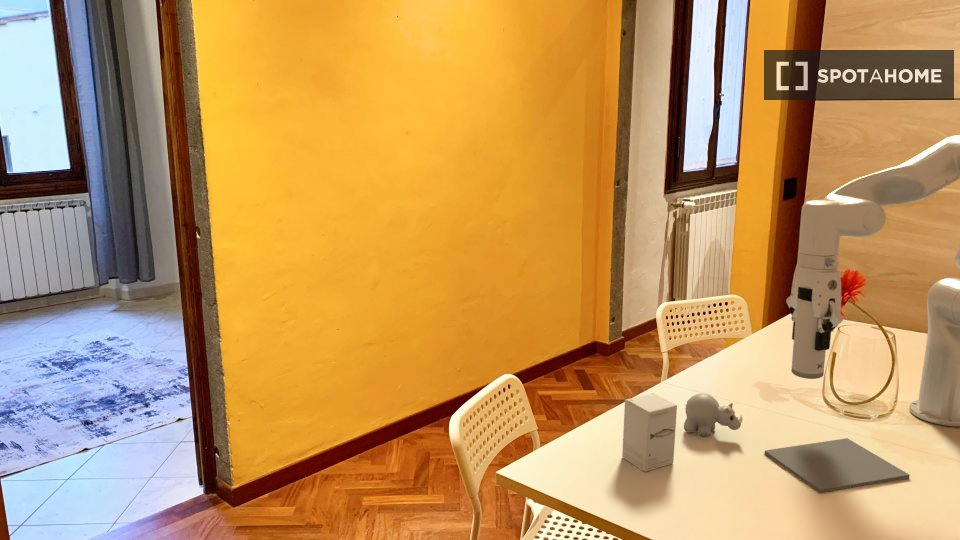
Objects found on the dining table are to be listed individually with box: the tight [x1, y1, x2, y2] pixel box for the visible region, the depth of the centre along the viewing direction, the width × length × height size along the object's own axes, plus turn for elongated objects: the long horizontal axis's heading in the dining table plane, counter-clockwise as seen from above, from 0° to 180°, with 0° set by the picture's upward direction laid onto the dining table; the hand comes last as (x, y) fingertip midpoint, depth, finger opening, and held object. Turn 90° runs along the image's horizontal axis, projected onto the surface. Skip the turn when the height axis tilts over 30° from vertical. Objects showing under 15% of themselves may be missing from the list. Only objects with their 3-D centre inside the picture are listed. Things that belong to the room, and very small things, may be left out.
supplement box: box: [621, 393, 678, 473], centre depth 145 cm, size 7×7×13 cm
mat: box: [763, 437, 910, 494], centre depth 144 cm, size 20×16×1 cm
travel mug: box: [790, 287, 827, 380], centre depth 154 cm, size 6×7×20 cm
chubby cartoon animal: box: [683, 393, 743, 437], centre depth 157 cm, size 7×12×8 cm, turn 54°
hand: (810, 343), depth 155 cm, fingers closed on travel mug, 6 cm apart
